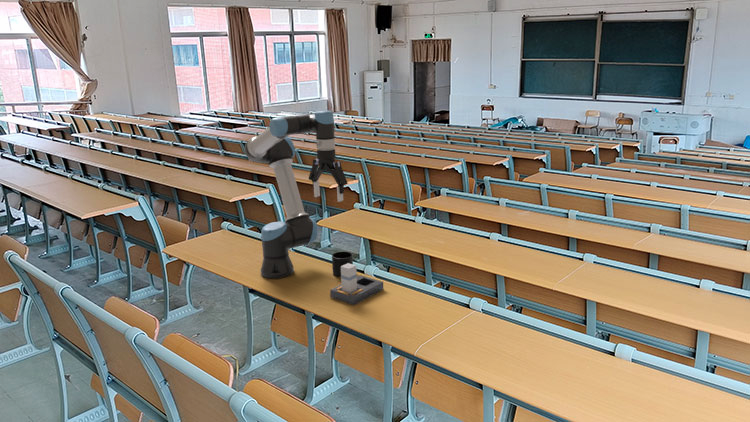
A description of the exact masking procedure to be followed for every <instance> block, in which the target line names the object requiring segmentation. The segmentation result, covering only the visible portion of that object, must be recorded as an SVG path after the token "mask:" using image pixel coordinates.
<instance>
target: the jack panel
mask: <svg viewBox="0 0 750 422" xmlns="http://www.w3.org/2000/svg"><path fill="white" fill-rule="evenodd" d="M383 290H384V281H381V280H378V279H375V278H371V277H368V276H365V275H361V274H359V275H357V291H355V292H354V293H352V294H349V293H346V292H343V291H342V284H339V285H337V286H334V287H333V288H330V298H332V299H335V300H337V301H339V302H344V303H347V304H349V305H352V306H357V305H358V304H359V303H362V302H363V301H365V300H367V299H368V298H370V297H373V296H374V295H376V294H379V292H382V291H383Z"/></svg>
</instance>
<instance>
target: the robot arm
mask: <svg viewBox="0 0 750 422" xmlns="http://www.w3.org/2000/svg"><path fill="white" fill-rule="evenodd" d="M269 121H270V122H269V126H268V127H267V128H266V129H265V130H264V131H262V132H261V133H260V134H258V135H257V136H254V137H250V139H248V141H246V143H245V145H244V153H245V156H246V157H247V158H248V159H249V160H250V161H252V162H254V163H259V164H263V163H268V165H269V168H271V169H273V172H274V175H275V180H276V182H277V186H278V189H279V193H280V196H281V200H282V203H283V207H284V211H285V213H286V214H285V215H286V218H285V220H284V221H274V222H273V221H272V222H270V223H267V224H265V225H264V226H263V227H262V228H261V231H260V232H261V233H260V235H261V236H260V237H261V238H260V239H261V245H262V258H263V259H262V263H261V267H260V275H261V277H263V278H265V279H269V280H270V279H272V280H274V279H276V280H278V279H283V278H286V277H289V276H292V274H293V273H295V270H294V265H293V262H292V260H291V257H290V252H289V249H294V248H297V247H302V246H307V245H310V244H313V243H314V242H315V241H317V237H318V232H319V229H318V224H317V222H316V221H315V219H314V218H312V217H310V214H309V213H307V212H305V209H304V205H303V201H302V198H301V195H300V192H299V191H300V190H299V188H298V184H297V180H296V178H295V174H294V170H293V167H292V163H293V161H294V157H295V156H296V152H295V151H296V148H295V145H294V141H293V140H292V139H291V138H290V137H289V136H294V135H301V134H309V133H315V139H316V149H317V150H316V158H315V159H313V160H312V165H311V170H310V172H309V175H308V180H309V181H311V182H312V189H313V197H314V198H317V197H321V192H320V190H321V189H320V180H319V179H320V178H321V176H322V174H323V172H326V173H327V172H328V173H329V174H331V176H332V177H333V179H334V181H335V183H336V184H337V186H336V194H337V195H336V197H337V202H338V203H339V202H343V201H344V194H345V187H344V186H346V185H348V184H349V183H348V181H347V180H348V179H347V178H346V174H345V172H344V170H343V168H342V163H341V161H336V160H335V159H336V149H335V148H336V143H335V141H336V140H335V139H336V138H335V119H334V112H333V111H331V110H325V109H324V110H316V111H315V112H314V113H311V112H310V113H304V114H302V115H301V114H300V115H290V116H278V117H275V118H274V117H273V118H271V119H270V120H269Z"/></svg>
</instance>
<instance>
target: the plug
mask: <svg viewBox="0 0 750 422" xmlns="http://www.w3.org/2000/svg"><path fill="white" fill-rule="evenodd" d="M357 276H358V273H357V265H356V264H354V263H353V264H349V263H347V264H345V265H343V266H341V277H340V279H341V284H342V291H343V292H346V293H349V294H352V293H354V292H355V291H357ZM341 284H340V285H341Z"/></svg>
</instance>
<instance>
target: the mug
mask: <svg viewBox="0 0 750 422" xmlns="http://www.w3.org/2000/svg"><path fill="white" fill-rule="evenodd" d="M353 255H354V254H353V253H352V252H350V251H336V252H334V253H333V254H331V263H332V274H333V276H334V277H337V278H341V266H343V265H345V264H347V263H349V264H353V265H354V258H353V257H354V256H353Z"/></svg>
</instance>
